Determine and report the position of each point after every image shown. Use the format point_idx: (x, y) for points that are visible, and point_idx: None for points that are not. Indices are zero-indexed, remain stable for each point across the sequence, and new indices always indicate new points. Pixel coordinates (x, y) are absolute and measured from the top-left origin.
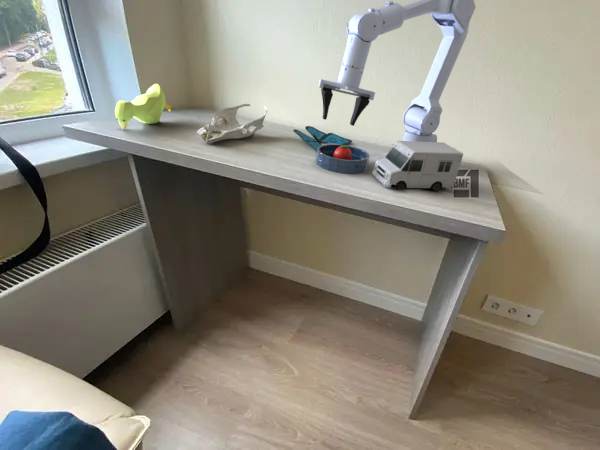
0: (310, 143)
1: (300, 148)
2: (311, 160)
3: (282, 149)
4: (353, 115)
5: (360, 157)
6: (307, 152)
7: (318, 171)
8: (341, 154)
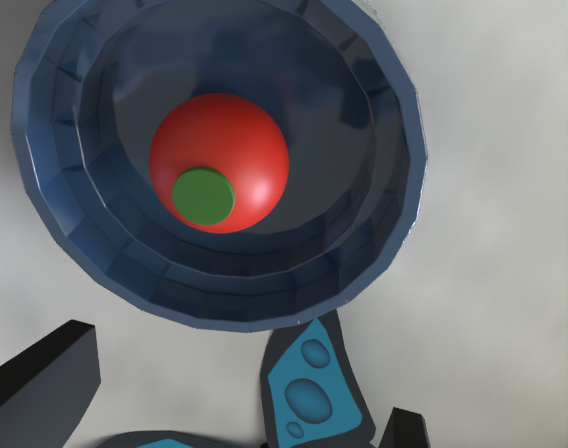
0: (350, 412)
1: (397, 400)
2: None
3: (515, 388)
4: (31, 444)
5: (82, 176)
6: (379, 348)
7: (441, 22)
8: (244, 121)
